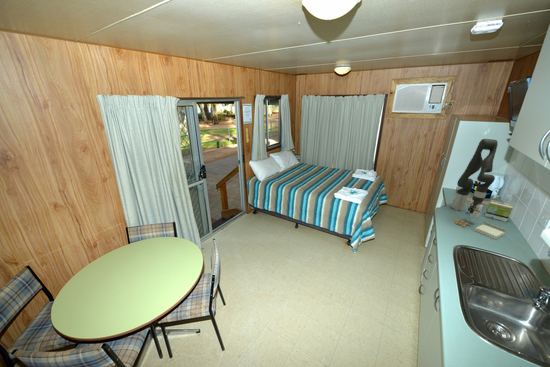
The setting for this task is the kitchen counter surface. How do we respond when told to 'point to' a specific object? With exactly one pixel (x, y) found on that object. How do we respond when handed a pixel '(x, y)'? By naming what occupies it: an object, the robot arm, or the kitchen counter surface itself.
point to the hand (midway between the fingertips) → (472, 212)
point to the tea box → (498, 210)
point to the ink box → (476, 210)
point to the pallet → (461, 223)
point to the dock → (490, 230)
